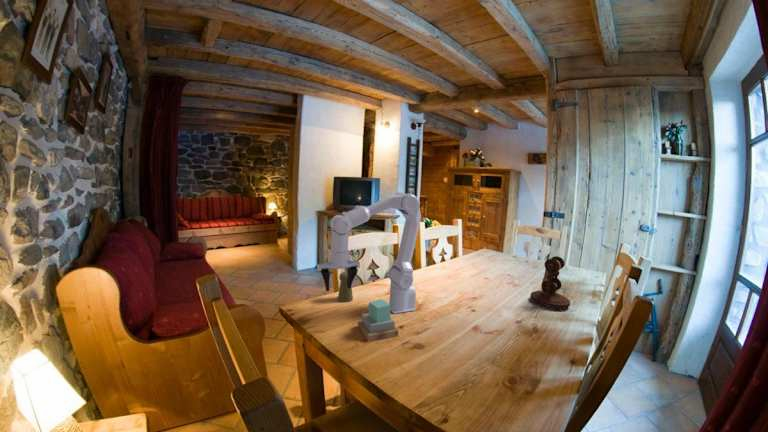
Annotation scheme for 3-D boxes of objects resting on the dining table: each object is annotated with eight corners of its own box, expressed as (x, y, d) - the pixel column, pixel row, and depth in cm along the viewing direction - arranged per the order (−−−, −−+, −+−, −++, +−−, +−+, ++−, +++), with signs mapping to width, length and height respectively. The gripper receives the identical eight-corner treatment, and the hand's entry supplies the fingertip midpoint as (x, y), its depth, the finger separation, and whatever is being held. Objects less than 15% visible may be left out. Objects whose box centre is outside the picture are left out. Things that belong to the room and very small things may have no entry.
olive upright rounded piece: (350, 303, 118) (351, 276, 116) (335, 301, 119) (336, 274, 118) (354, 297, 124) (355, 271, 122) (340, 295, 125) (341, 269, 123)
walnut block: (385, 323, 105) (385, 316, 104) (397, 338, 96) (398, 330, 95) (357, 327, 101) (358, 320, 100) (368, 343, 92) (368, 335, 91)
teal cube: (381, 313, 101) (381, 299, 100) (389, 319, 97) (390, 304, 96) (368, 316, 98) (369, 302, 98) (376, 323, 94) (377, 308, 94)
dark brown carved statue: (537, 293, 138) (542, 251, 135) (573, 304, 128) (580, 259, 125) (524, 302, 128) (530, 256, 125) (563, 314, 117) (570, 265, 115)
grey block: (383, 317, 103) (384, 310, 103) (394, 329, 96) (394, 321, 96) (361, 321, 100) (362, 314, 100) (370, 333, 93) (371, 325, 92)
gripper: (356, 246, 109) (354, 282, 111) (315, 248, 103) (314, 286, 105) (362, 251, 103) (360, 289, 105) (320, 254, 97) (319, 294, 99)
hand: (338, 288), depth 104 cm, fingers open, 7 cm apart
